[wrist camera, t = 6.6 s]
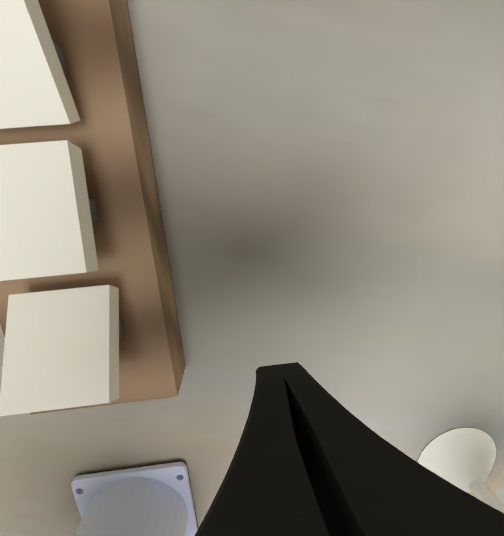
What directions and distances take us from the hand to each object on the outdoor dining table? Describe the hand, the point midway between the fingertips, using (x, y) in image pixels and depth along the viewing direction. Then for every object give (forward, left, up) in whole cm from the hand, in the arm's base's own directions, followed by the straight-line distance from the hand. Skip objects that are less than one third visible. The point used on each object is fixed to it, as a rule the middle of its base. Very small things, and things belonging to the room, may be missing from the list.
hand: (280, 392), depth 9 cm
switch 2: (+6, +9, -5) cm, 12 cm away
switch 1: (0, +9, -5) cm, 10 cm away
